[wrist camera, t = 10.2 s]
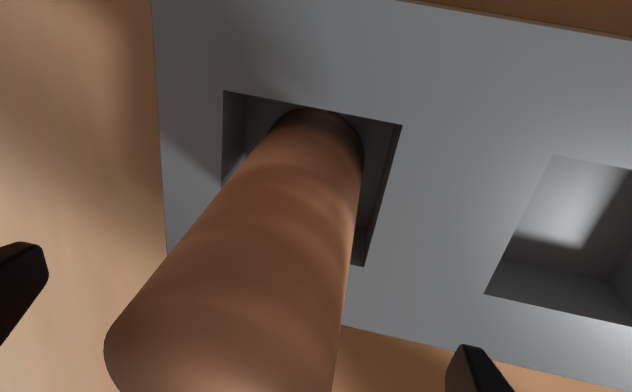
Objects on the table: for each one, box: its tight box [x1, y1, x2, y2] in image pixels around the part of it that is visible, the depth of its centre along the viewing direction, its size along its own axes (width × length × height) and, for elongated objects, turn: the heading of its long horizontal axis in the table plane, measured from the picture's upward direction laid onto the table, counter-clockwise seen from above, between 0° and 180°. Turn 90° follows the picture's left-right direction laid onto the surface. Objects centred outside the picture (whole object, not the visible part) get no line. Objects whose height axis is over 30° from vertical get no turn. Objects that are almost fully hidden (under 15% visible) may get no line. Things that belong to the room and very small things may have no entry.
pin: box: [103, 107, 364, 392], centre depth 11 cm, size 4×4×10 cm
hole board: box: [151, 0, 632, 392], centre depth 14 cm, size 12×20×4 cm, turn 82°
